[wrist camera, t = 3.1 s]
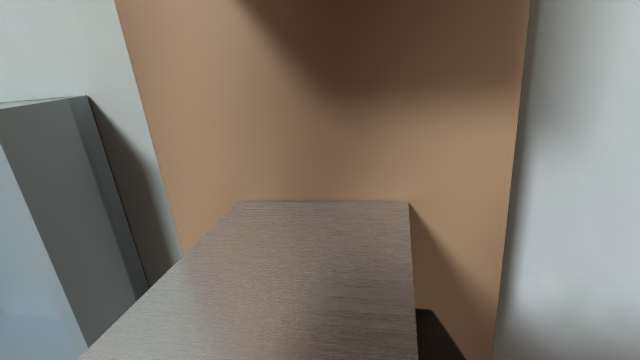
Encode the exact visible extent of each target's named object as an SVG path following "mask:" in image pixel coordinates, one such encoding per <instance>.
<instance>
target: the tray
mask: <svg viewBox="0 0 640 360" xmlns="http://www.w3.org/2000/svg"><path fill="white" fill-rule="evenodd" d="M148 290H149V287H148V284H147V281H146V277H145V274H144V271H143V268H142V265H141V262H140V259H139V256H138V253H137V250H136V247H135V243H134V240H133V237H132V234H131V231H130V228H129V225H128V222H127V219H126V216H125V212H124V209H123V206H122V203H121V200H120V197H119V194H118V191H117V188H116V185H115V181H114V178H113V175H112V172H111V169H110V166H109V163H108V160H107V157H106V154H105V150H104V147H103V144H102V141H101V138H100V135H99V132H98V129H97V126H96V123H95V119H94V116H93V113H92V110H91V107H90V104H89V101H88V98H87V95H85V96H73V97H61V98H50V99H38V100H26V101H14V102H2V103H0V360H77V359H78V358H79V357H80V356H81V355H82V354H83V353H84V352H85V351H86V350H87V349H88V348H89V347H90V346H91V345H92V344H94V343H95V342H96V341H97V340H98V339H99V338H100V337H101V336H102V335H103V334H104V333H105V332H106V331H107V330H108V329H109V328H110V327H111V326H112V325H113V324H114V323H115V322H116V321H117V320H118V319H119V318H120V317H121V316H122V315H123V314H124V313H125V312H126V311H127V310H128V309H129V308H130V307H131V306H132V305H133V304H134V303H135V302H137V301H138V300H139V299H140V298H141V297H142V296H143V295H144V294H145V293H146V292H147V291H148Z"/></svg>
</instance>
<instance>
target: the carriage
mask: <svg viewBox="0 0 640 360" xmlns="http://www.w3.org/2000/svg"><path fill="white" fill-rule="evenodd" d="M77 360H418V347H417V332H416V316H415V300H414V285H413V269H412V253H411V237H410V222H409V206H408V202H238V203H237V204H236V205H235V206H234V207H233V208H232V209H231V210H230V211H229V212H228V213H227V214H226V215H225V216H224V217H222V218H221V219H220V220H219V221H218V222H217V223H216V224H215V225H214V226H213V227H212V228H211V229H210V230H209V231H208V232H207V233H206V234H205V235H204V236H203V237H202V238H201V239H200V240H199V241H198V242H197V243H196V244H195V245H194V246H193V247H192V248H191V249H190V250H189V251H188V252H187V253H186V254H185V255H184V256H183V257H182V258H181V259H180V260H178V261H177V262H176V263H175V264H174V265H173V266H172V267H171V268H170V269H169V270H168V271H167V272H166V273H165V274H164V275H163V276H162V277H161V278H160V279H159V280H158V281H157V282H156V283H155V284H154V285H153V286H152V287H151V288H150V289H149V290H148V291H147V292H146V293H145V294H144V295H143V296H142V297H141V298H140V299H139V300H138V301H137V302H135V303H134V304H133V305H132V306H131V307H130V308H129V309H128V310H127V311H126V312H125V313H124V314H123V315H122V316H121V317H120V318H119V319H118V320H117V321H116V322H115V323H114V324H113V325H112V326H111V327H110V328H109V329H108V330H107V331H106V332H105V333H104V334H103V335H102V336H101V337H100V338H99V339H98V340H97V341H96V342H95V343H94V344H92V345H91V346H90V347H89V348H88V349H87V350H86V351H85V352H84V353H83V354H82V355H81V356H80V357H79V358H78V359H77Z"/></svg>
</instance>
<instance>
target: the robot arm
mask: <svg viewBox="0 0 640 360" xmlns="http://www.w3.org/2000/svg"><path fill="white" fill-rule="evenodd" d="M415 316H416V332H417V347H418V360H467V358H466V357H465V355H464V354H463V352H462V351H461V350H460V348H459V347H458V345H457V344H456V342H455V341H454V340H453V338H452V337H451V335H450V334H449V333H448V331H447V330H446V328H445V327H444V325H443V324H442V323H441V321H440V320H439V318H438V317H437V316H436V314H435V313H434V312H433V311H432V310H431V309H421V308H415Z"/></svg>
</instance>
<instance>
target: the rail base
mask: <svg viewBox="0 0 640 360" xmlns="http://www.w3.org/2000/svg"><path fill="white" fill-rule="evenodd" d="M114 2H115V5H116V9H117V13H118V16H119V20H120V24H121V28H122V31H123V35H124V39H125V42H126V46H127V50H128V54H129V57H130V61H131V65H132V68H133V72H134V76H135V79H136V83H137V87H138V91H139V94H140V98H141V102H142V105H143V109H144V113H145V116H146V120H147V124H148V128H149V131H150V135H151V139H152V142H153V146H154V150H155V154H156V157H157V161H158V165H159V168H160V172H161V176H162V179H163V183H164V187H165V191H166V194H167V198H168V202H169V205H170V209H171V213H172V216H173V220H174V224H175V228H176V231H177V235H178V239H179V242H180V246H181V250H182V253H183V256H184V255H185V254H186V253H187V252H188V251H189V250H190V249H191V248H192V247H193V246H194V245H195V244H196V243H197V242H198V241H199V240H200V239H201V238H202V237H203V236H204V235H205V234H206V233H207V232H208V231H209V230H210V229H211V228H212V227H213V226H214V225H215V224H216V223H217V222H218V221H219V220H220V219H221V218H222V217H224V216H225V215H226V214H227V213H228V212H229V211H230V210H231V209H232V208H233V207H234V206H235V205H236V204H237V203H238V202H408V206H409V222H410V237H411V253H412V269H413V285H414V300H415V308H421V309H431V310H432V311H433V312H434V313H435V314H436V316H437V317H438V318H439V320H440V321H441V323H442V324H443V325H444V327H445V328H446V330H447V331H448V333H449V334H450V335H451V337H452V338H453V340H454V341H455V342H456V344H457V345H458V347H459V348H460V350H461V351H462V352H463V354H464V355H465V357H466V358H467V360H492V355H493V345H494V336H495V327H496V318H497V308H498V299H499V290H500V280H501V271H502V262H503V253H504V243H505V234H506V225H507V216H508V206H509V197H510V188H511V179H512V169H513V160H514V151H515V141H516V132H517V123H518V114H519V104H520V95H521V86H522V77H523V67H524V58H525V49H526V39H527V30H528V21H529V12H530V2H531V0H114Z"/></svg>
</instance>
